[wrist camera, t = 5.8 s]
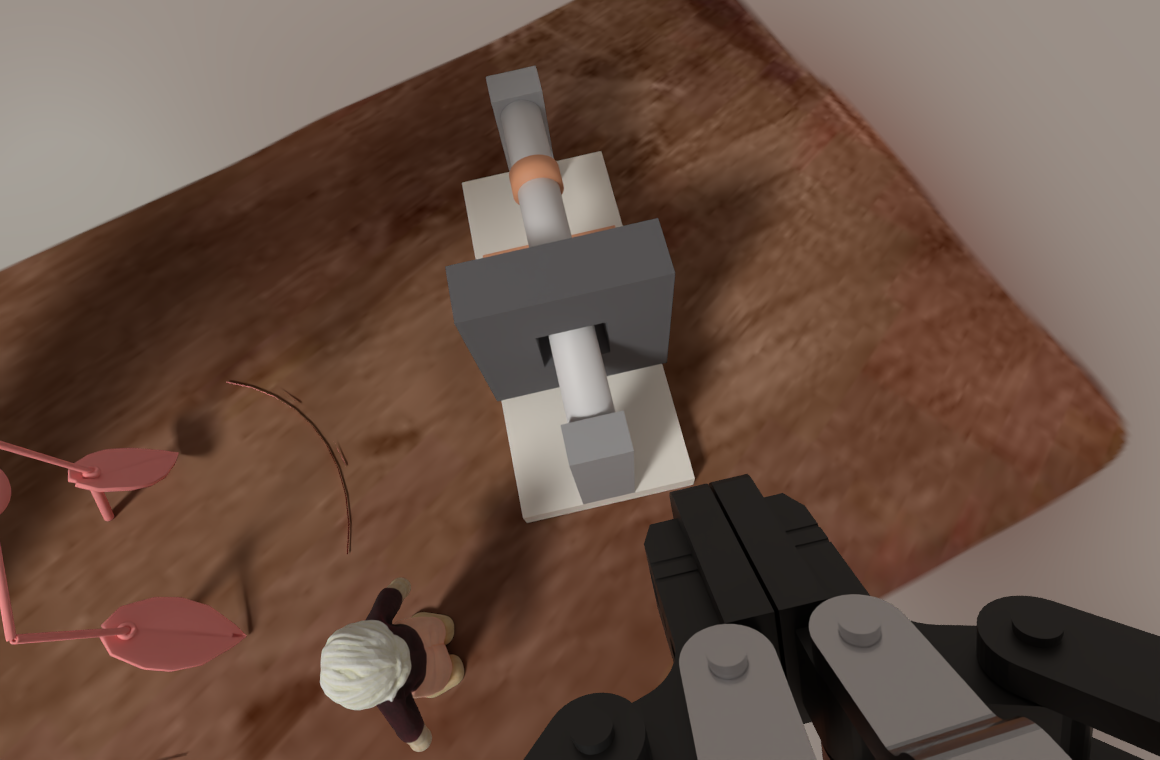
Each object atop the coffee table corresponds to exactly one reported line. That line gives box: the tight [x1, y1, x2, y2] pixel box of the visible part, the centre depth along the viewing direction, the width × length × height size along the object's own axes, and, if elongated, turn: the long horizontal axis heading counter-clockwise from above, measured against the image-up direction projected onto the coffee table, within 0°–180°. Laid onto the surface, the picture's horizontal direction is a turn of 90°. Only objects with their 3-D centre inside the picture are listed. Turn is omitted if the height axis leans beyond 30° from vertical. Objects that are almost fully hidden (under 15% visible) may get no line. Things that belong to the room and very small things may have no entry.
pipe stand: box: [462, 66, 695, 523], centre depth 40 cm, size 10×24×10 cm, turn 12°
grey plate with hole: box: [445, 218, 675, 401], centre depth 36 cm, size 10×3×10 cm, turn 102°
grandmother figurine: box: [320, 578, 464, 752], centre depth 32 cm, size 8×4×13 cm, turn 26°
